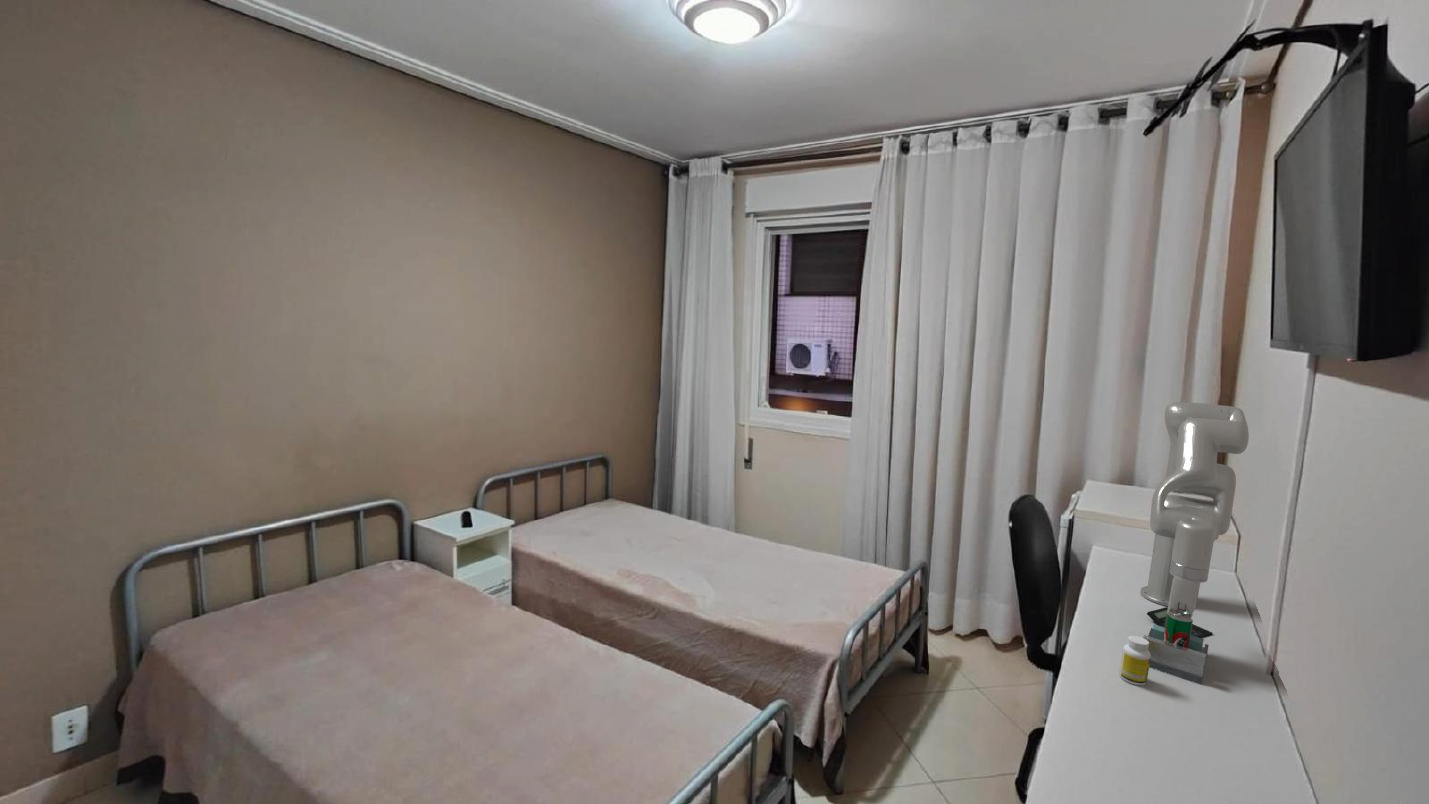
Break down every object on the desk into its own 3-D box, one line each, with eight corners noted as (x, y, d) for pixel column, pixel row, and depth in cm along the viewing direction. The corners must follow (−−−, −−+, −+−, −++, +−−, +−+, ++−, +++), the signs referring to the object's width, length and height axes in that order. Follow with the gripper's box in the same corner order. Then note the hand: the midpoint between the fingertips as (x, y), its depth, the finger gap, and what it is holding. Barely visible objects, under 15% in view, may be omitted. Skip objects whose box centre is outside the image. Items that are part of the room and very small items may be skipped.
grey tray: (1150, 636, 167) (1153, 613, 166) (1207, 654, 160) (1211, 629, 159) (1139, 663, 154) (1142, 638, 153) (1200, 684, 146) (1205, 658, 145)
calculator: (1190, 642, 166) (1192, 631, 166) (1145, 621, 177) (1146, 611, 176) (1212, 635, 170) (1213, 625, 169) (1166, 615, 180) (1168, 605, 180)
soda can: (1190, 663, 152) (1198, 616, 150) (1177, 667, 150) (1185, 619, 148) (1168, 652, 157) (1175, 606, 155) (1155, 656, 155) (1162, 609, 153)
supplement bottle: (1150, 688, 144) (1156, 648, 142) (1123, 683, 145) (1128, 643, 144) (1142, 675, 149) (1148, 636, 147) (1115, 670, 151) (1121, 632, 149)
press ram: (1151, 643, 161) (1154, 624, 160) (1200, 658, 154) (1203, 639, 154) (1149, 647, 159) (1152, 628, 158) (1199, 663, 152) (1202, 643, 151)
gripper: (1173, 556, 164) (1163, 622, 167) (1166, 575, 153) (1155, 645, 156) (1210, 565, 159) (1199, 633, 162) (1205, 585, 148) (1193, 657, 151)
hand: (1177, 639), depth 159 cm, fingers closed
